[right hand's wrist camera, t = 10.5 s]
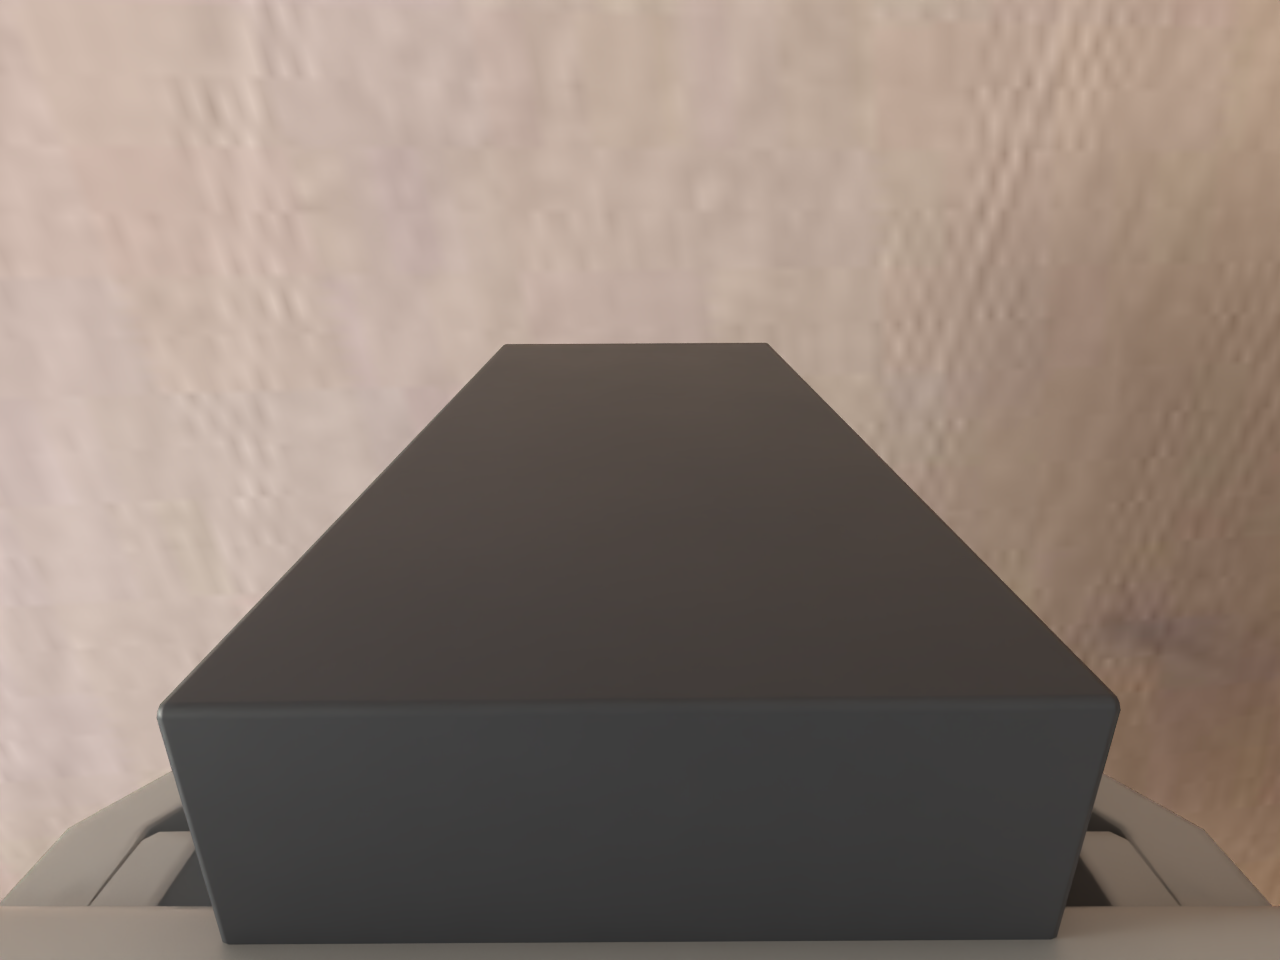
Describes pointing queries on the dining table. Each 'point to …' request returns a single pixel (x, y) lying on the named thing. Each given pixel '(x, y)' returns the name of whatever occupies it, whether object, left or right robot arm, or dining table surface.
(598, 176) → the dining table surface
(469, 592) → the box
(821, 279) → the dining table surface
